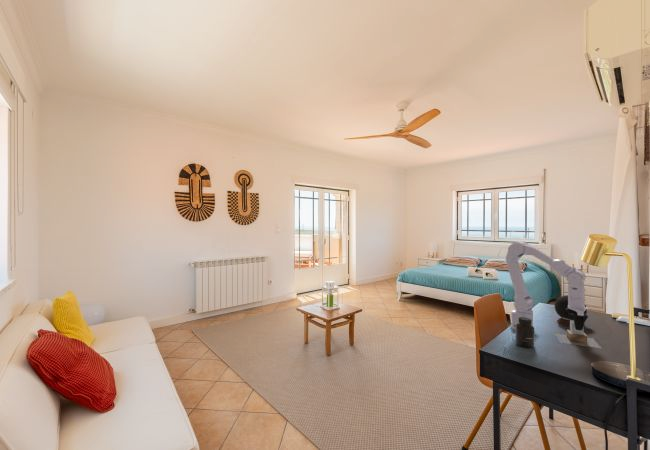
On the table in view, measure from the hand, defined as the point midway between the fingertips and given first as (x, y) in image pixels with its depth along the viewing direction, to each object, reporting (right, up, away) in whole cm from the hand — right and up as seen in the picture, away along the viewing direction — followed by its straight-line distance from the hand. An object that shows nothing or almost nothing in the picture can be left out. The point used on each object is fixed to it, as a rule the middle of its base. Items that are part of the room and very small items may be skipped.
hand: (576, 327), depth 134 cm
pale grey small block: (0, -3, 0) cm, 2 cm away
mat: (0, -6, 0) cm, 6 cm away
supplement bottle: (-26, -7, -4) cm, 27 cm away
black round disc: (+16, -6, +22) cm, 28 cm away
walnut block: (0, -6, 0) cm, 6 cm away
